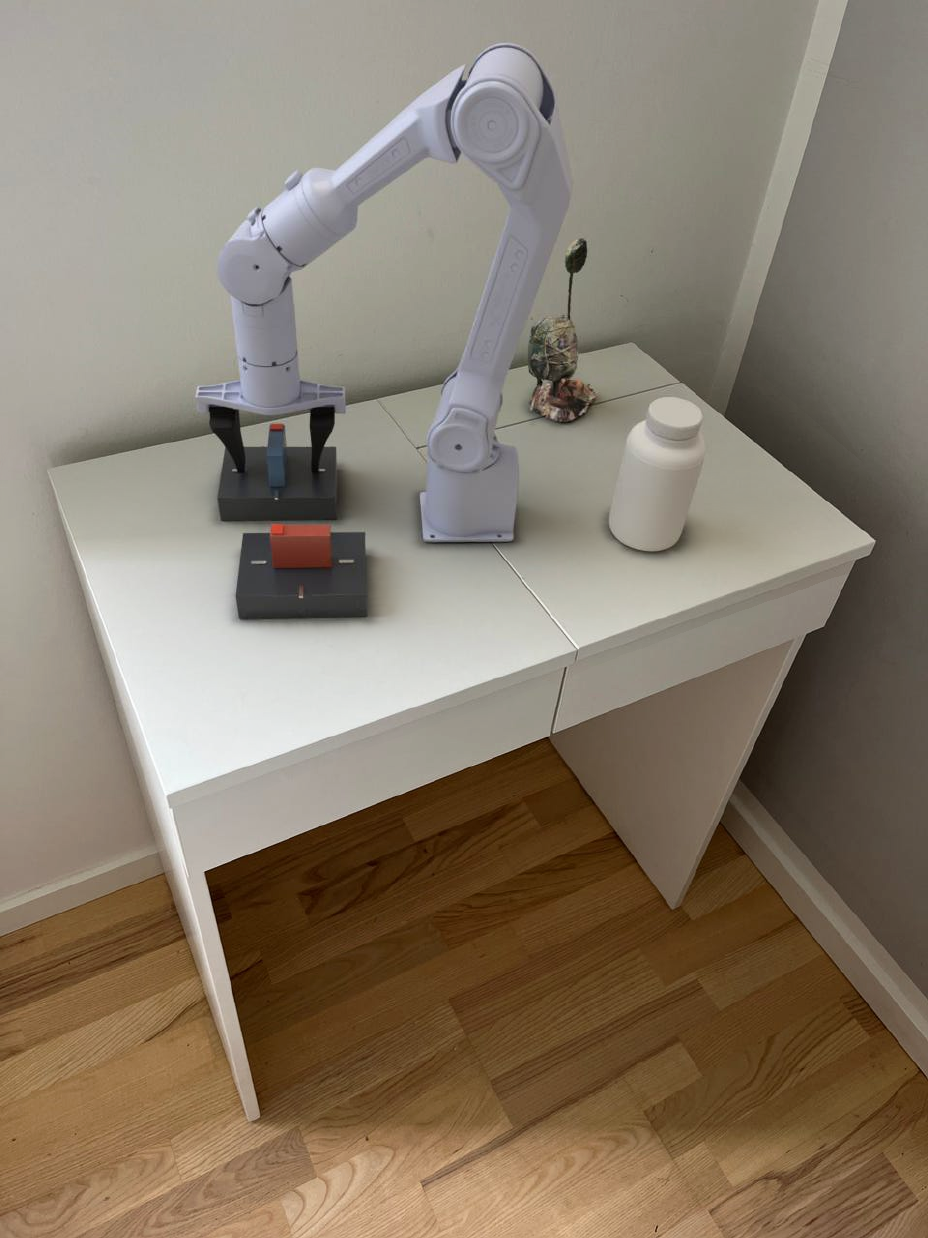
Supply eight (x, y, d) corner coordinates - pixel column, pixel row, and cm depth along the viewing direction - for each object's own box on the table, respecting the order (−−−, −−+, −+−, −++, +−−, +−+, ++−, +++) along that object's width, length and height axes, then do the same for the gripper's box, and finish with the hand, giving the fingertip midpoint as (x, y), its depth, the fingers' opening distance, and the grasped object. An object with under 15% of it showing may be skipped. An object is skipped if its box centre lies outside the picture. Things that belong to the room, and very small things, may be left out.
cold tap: (285, 486, 99) (282, 453, 96) (269, 486, 99) (266, 453, 96) (287, 455, 103) (284, 422, 100) (272, 455, 102) (269, 422, 99)
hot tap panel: (365, 551, 97) (365, 528, 95) (366, 619, 90) (366, 595, 88) (246, 553, 96) (242, 529, 93) (238, 621, 89) (234, 597, 87)
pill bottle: (679, 559, 99) (715, 440, 88) (603, 546, 100) (630, 425, 89) (682, 513, 105) (717, 395, 94) (610, 500, 105) (636, 382, 95)
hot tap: (331, 556, 92) (330, 522, 89) (331, 567, 90) (330, 533, 87) (274, 557, 91) (270, 522, 88) (273, 568, 90) (269, 534, 87)
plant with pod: (500, 403, 118) (516, 245, 104) (568, 377, 123) (592, 224, 109) (542, 435, 114) (564, 275, 99) (611, 407, 119) (641, 252, 104)
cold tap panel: (337, 466, 107) (336, 443, 104) (336, 522, 100) (335, 498, 98) (228, 466, 105) (225, 443, 103) (220, 522, 99) (216, 498, 96)
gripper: (343, 331, 94) (347, 444, 104) (194, 329, 93) (212, 444, 102) (343, 368, 89) (347, 484, 99) (186, 367, 88) (205, 485, 97)
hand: (278, 467), depth 100 cm, fingers open, 7 cm apart
